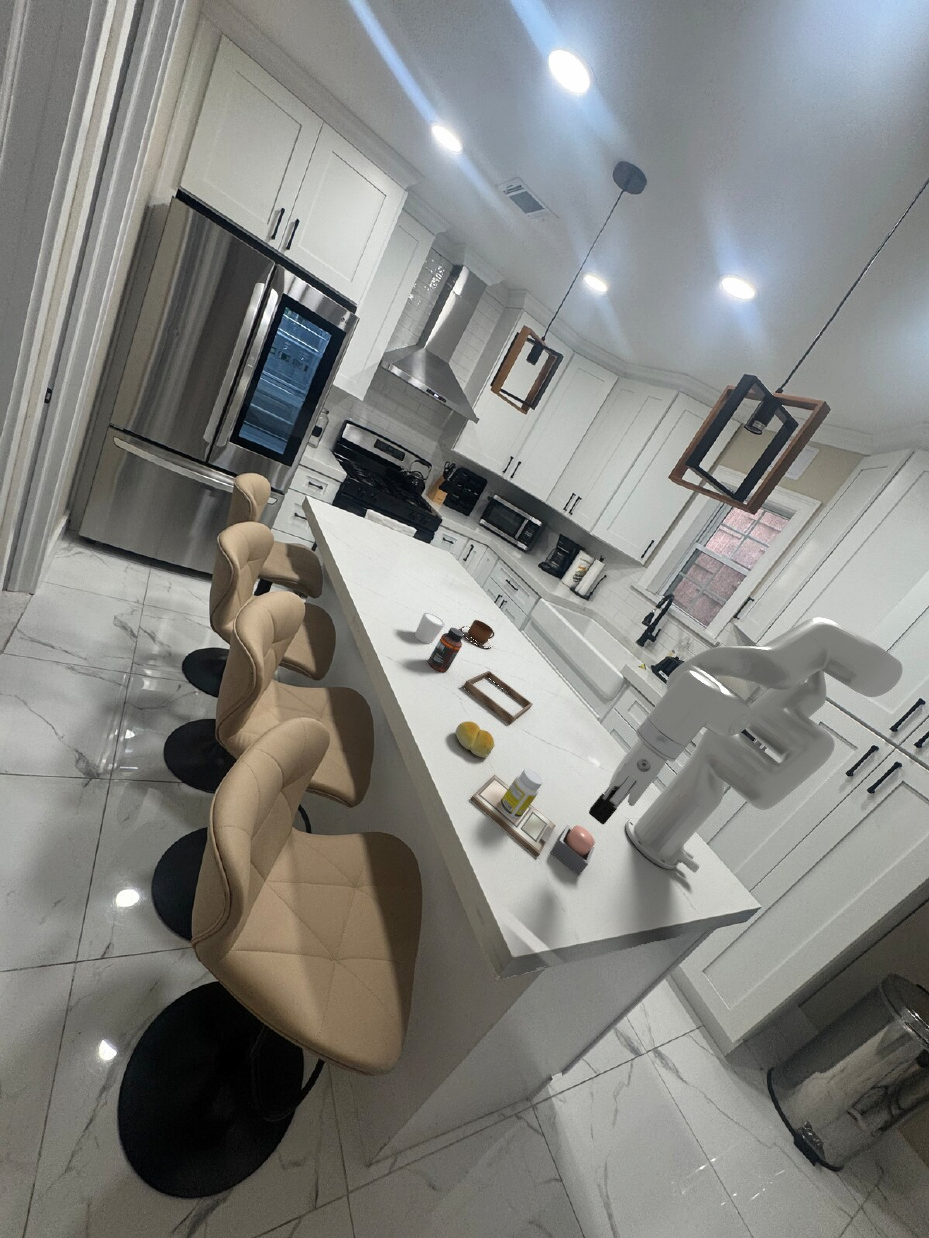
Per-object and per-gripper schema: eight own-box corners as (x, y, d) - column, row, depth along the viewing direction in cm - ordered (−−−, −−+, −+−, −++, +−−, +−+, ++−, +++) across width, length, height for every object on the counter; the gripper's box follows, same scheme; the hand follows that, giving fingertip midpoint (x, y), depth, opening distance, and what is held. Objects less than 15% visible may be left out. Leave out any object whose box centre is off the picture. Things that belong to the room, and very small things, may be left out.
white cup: (410, 629, 148) (421, 609, 146) (431, 636, 151) (442, 617, 149) (414, 640, 142) (426, 620, 140) (435, 648, 145) (447, 628, 143)
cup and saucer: (472, 631, 175) (481, 616, 174) (496, 651, 170) (505, 636, 168) (452, 630, 166) (461, 615, 164) (476, 652, 160) (486, 636, 158)
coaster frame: (528, 710, 140) (532, 703, 140) (510, 724, 126) (514, 718, 126) (485, 676, 145) (489, 670, 145) (462, 687, 131) (466, 680, 131)
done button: (587, 849, 93) (596, 838, 92) (582, 861, 89) (592, 849, 88) (567, 832, 94) (576, 821, 93) (562, 844, 90) (571, 832, 89)
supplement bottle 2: (521, 806, 96) (544, 774, 94) (521, 823, 91) (546, 789, 89) (499, 795, 96) (522, 762, 93) (498, 811, 91) (522, 777, 89)
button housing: (585, 858, 94) (594, 847, 93) (578, 875, 88) (588, 864, 88) (558, 836, 96) (567, 825, 95) (550, 851, 90) (559, 840, 89)
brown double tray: (553, 828, 97) (557, 822, 97) (537, 857, 87) (541, 851, 87) (492, 777, 102) (496, 771, 101) (470, 798, 92) (474, 792, 91)
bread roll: (459, 724, 112) (469, 711, 111) (492, 749, 111) (502, 735, 110) (448, 737, 105) (458, 723, 104) (483, 764, 103) (494, 750, 102)
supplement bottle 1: (448, 667, 138) (468, 634, 134) (445, 675, 132) (466, 640, 129) (429, 656, 138) (449, 622, 134) (425, 664, 132) (445, 629, 129)
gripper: (679, 768, 76) (608, 852, 81) (680, 741, 89) (619, 814, 94) (636, 736, 78) (569, 820, 83) (644, 714, 92) (586, 787, 97)
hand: (596, 816), depth 89 cm, fingers closed
